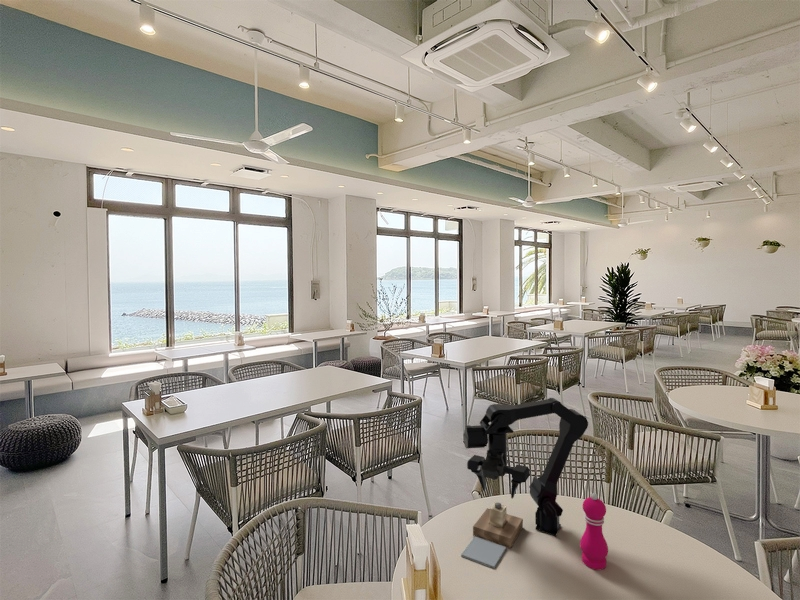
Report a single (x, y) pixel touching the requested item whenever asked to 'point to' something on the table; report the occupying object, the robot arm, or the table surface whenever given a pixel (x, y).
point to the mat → (484, 552)
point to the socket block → (498, 529)
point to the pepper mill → (594, 534)
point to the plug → (498, 515)
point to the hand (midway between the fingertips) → (498, 494)
